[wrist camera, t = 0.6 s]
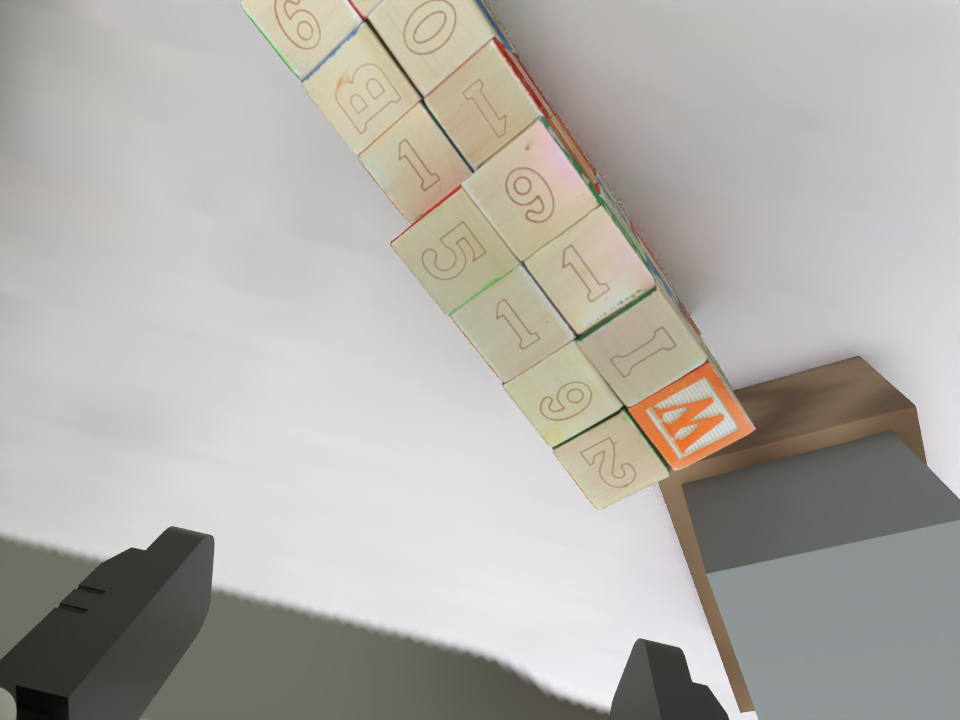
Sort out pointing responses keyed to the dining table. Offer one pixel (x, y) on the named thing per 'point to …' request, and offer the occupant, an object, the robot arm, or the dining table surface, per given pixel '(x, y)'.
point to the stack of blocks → (514, 233)
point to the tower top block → (837, 581)
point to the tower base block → (789, 453)
